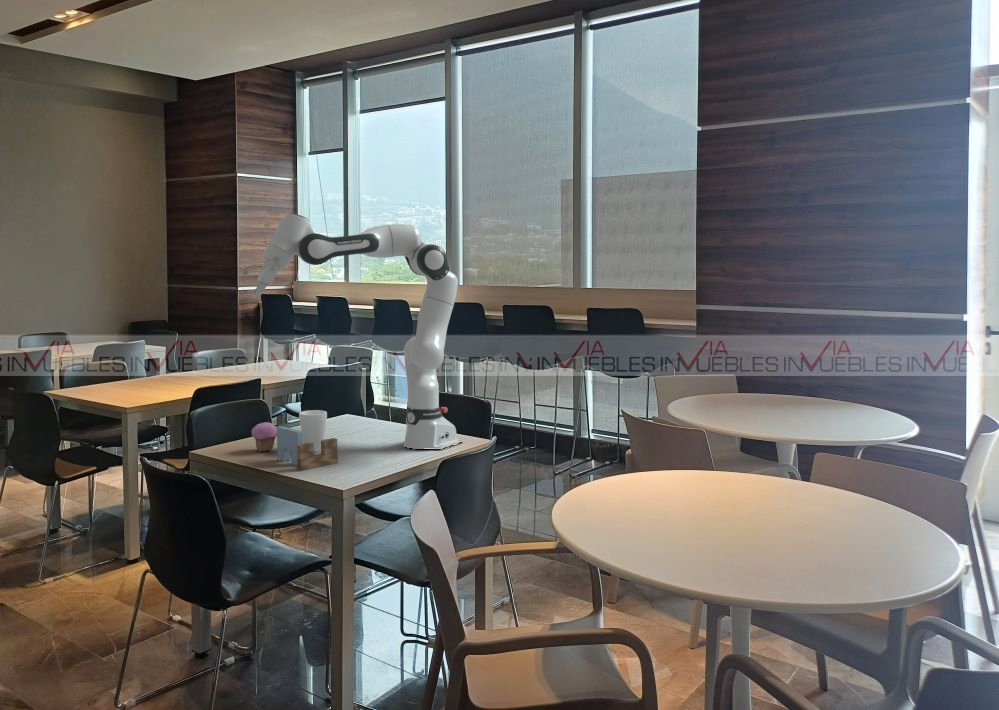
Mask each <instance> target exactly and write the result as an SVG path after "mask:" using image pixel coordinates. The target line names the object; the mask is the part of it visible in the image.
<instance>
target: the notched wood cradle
mask: <svg viewBox="0 0 999 710" xmlns="http://www.w3.org/2000/svg"><path fill="white" fill-rule="evenodd" d="M338 455H339V453H338V438H336V437H335V438H334V437H331V438H327V439H324V440H321V450H320V453H319V454H315V451H314V443H311V442H310V443H304V444H299V445H297V465H296V467H297V468H296V470H298V471H300V472H302V471H306V470H311V469H312V470H313V469H315V468H316V469H317V468H322V467H325V466H331V465H335V464H338V461H339V460H338Z"/></svg>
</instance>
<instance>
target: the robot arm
mask: <svg viewBox="0 0 999 710" xmlns="http://www.w3.org/2000/svg"><path fill="white" fill-rule="evenodd" d="M295 255H296V256H297V257H299V258H300V260H302V261H303V262H304V263H306V264H309V265H313V266H318V265H323V264H325V263H326V262H328V261H329V260H331V259H333V258H337V257H344V256H353V255H363V256H367V257H371V258H379V259H380V258H385V259H386V258H395V257H404V259H405V260H406V263H407V265H408V267H409V269H410V271H412V273H414V274H415V275H417V276H421V277H425V279H426V288H425V289H426V290H425V292H424V295H423V298H422V301H421V306H420V308H419V311H418V314H417V315H418V316H417V325H416V332H415V333H416V334H415V336H413V337H411V338H410V339H409V340H407V341H406V342H405V344H404V347H403V356H404V365H405V374H406V382H407V406H406V421H407V423H406V430H405V437H404V441H403V447H404V448H405V447H407V448H406V449H409V448H414V449H413V450H415V449H424V448H442V447H445V446H447V445H450V444H453V443H456V442H459V441H458V440H459V439H457V437H458V436H457V429H456V426H455V425H454V424H453V423H452V422H450V421H449V420H447V419H446V418H445V417H444V415H443V413H445V414H446V413H447V412H448V410H449V409H448V407H446V406H445V407H444V406H441V407H440V406H439V405H440V404H439V403H440V402H439V401H440V399H439V398H440V396H439V395H440V391H439V390H440V389H439V380H438V377H437V369H438V368H439V367H440V366H442V364H443V362H444V358H445V353H444V352H445V346H446V341H447V340H446V339H447V331H448V326H449V323H450V320H451V315H452V313H453V309H454V306H455V301H456V298H457V293H458V285H459V280H458V277H457V275H456V274H454V273H453V272H452V271H450V268H449V267H450V266H449V262H448V257H447V253H446V252H445V250H444V249H443V248H442V247H440V246H439V245H436V244H431V243H429V244H428V243H427V244H426V243H424V242H423V241H422V235H421V233H420V231H419V229H418V228H417V227H416V226H415V225H413V224H406V223H405V224H403V223H396V224H395V223H394V224H393V223H392V224H383V225H378V226H373V227H370V228H368V229H365V230H364V231H362V232H360V233H357V234H353V235H343V236H342V235H341V236H327V235H324V234H322V233H321V234H320V233H317V231H316V230H315V229H314V226H312V224H311V222H310V219H309V218H307V217H305V216H303V215H302V214H301V215H300V214H297V213H291V212H290V213H287V214H286V215H285V216H284V217H283V218H282V219H281V221H280V223H278V226H277V227H276V229H275V231H274V235H273V238H271V240H270V241H269V242H268V243H267V246H266V248H265V249H264V252H263V253H262V255H261V256H262V257H263V258H264V260H263V263H262V266H261V269H260V272H259V274H258V277H257V281H258V283H257V285H256V288H255V290H254V292H253V294H254V295H256V296H257V297H261V296H262V294H263V292H264V291H265V289H266V288H267V287H268V286H271V284H272V283H273V282H274V279H275V278H276V276H277V274H278V272H282V270H283V269H286V270H287V269H288V268H289V266H290V264H291V262H292V260H293V258H294V257H295Z"/></svg>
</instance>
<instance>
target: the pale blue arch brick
mask: <svg viewBox="0 0 999 710" xmlns="http://www.w3.org/2000/svg"><path fill="white" fill-rule="evenodd" d="M276 427H277V436H276V445H277V446H276V449H277V451H276V454H277V457H276V458H277V460H278V459H280V460H283V461H282V462H284V461H285V462H288V461H287V460H290V464H291V463H292V464H291V465H294V466H297V445H299V444H303V431H301V429H300V430H298V429H295V428H291V427H287V426H283V425H282V426H276ZM280 460H279V461H280Z"/></svg>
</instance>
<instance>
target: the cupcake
mask: <svg viewBox="0 0 999 710" xmlns="http://www.w3.org/2000/svg"><path fill="white" fill-rule="evenodd" d="M277 427H278V426H275V425H274V424H273V423H271V422H266V421H264V422H260V423H258V424H256V425H255V426H254V427H253V428H251V437H252V438H254V440H255V446H256V450H257V451H258V450H260V451H259V452H261V451H264V452H267V451H270V452H271V451H273V449H274V445H275V440H276V438H277Z"/></svg>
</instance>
